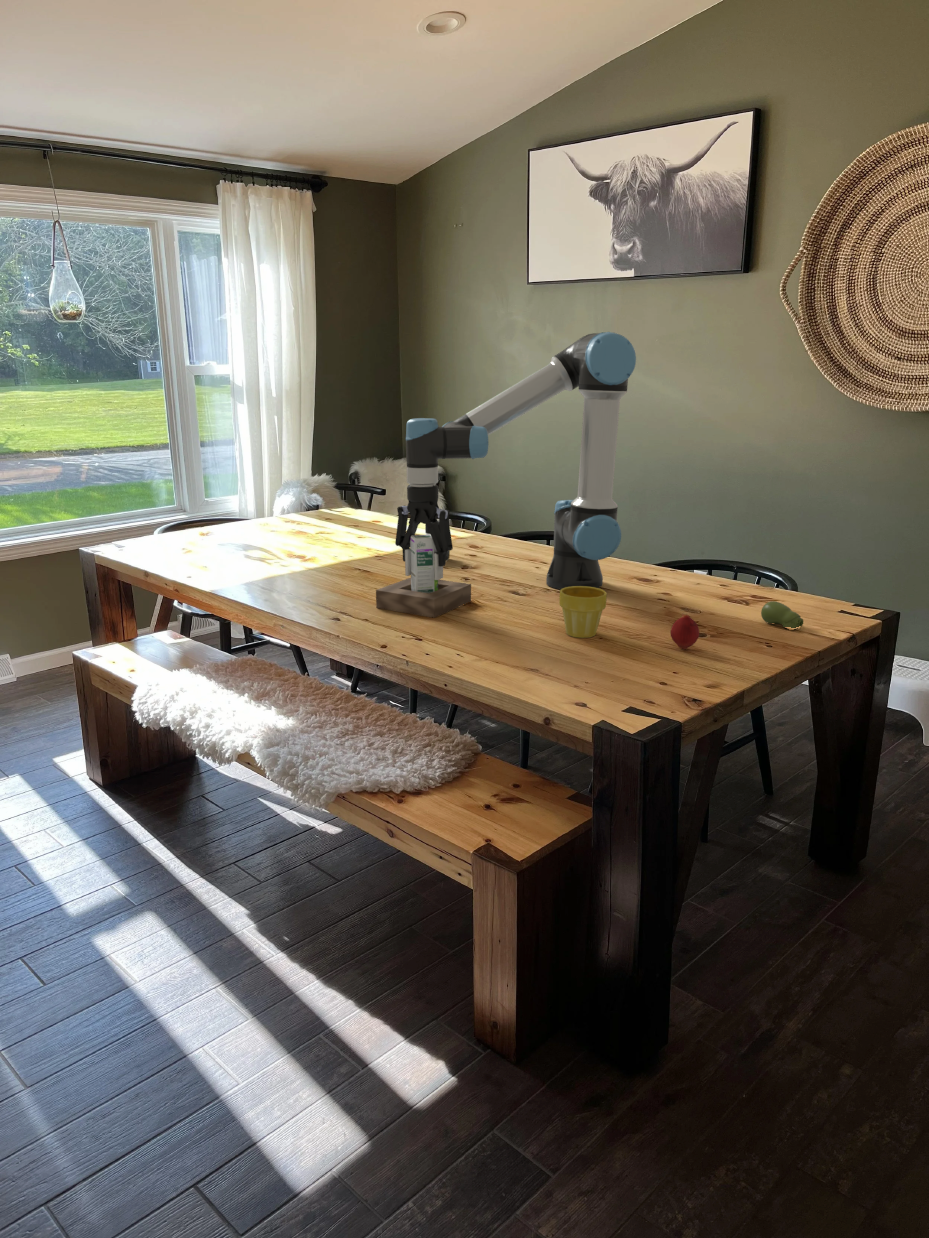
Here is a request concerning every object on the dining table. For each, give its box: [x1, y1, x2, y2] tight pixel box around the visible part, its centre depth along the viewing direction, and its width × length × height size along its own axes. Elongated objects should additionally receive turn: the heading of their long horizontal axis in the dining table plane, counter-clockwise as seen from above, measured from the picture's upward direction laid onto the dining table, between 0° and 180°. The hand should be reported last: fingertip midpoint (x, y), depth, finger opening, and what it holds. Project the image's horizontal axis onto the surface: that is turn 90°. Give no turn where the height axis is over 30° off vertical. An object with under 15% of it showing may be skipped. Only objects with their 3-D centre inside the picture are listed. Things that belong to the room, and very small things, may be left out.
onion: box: [670, 612, 700, 650], centre depth 187 cm, size 6×6×8 cm
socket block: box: [375, 577, 472, 619], centre depth 222 cm, size 17×17×4 cm
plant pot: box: [558, 586, 608, 639], centre depth 198 cm, size 10×10×10 cm
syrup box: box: [410, 534, 438, 593], centre depth 220 cm, size 6×6×14 cm
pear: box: [760, 600, 804, 628], centre depth 204 cm, size 6×5×10 cm
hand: (424, 576), depth 220 cm, fingers closed on syrup box, 8 cm apart
